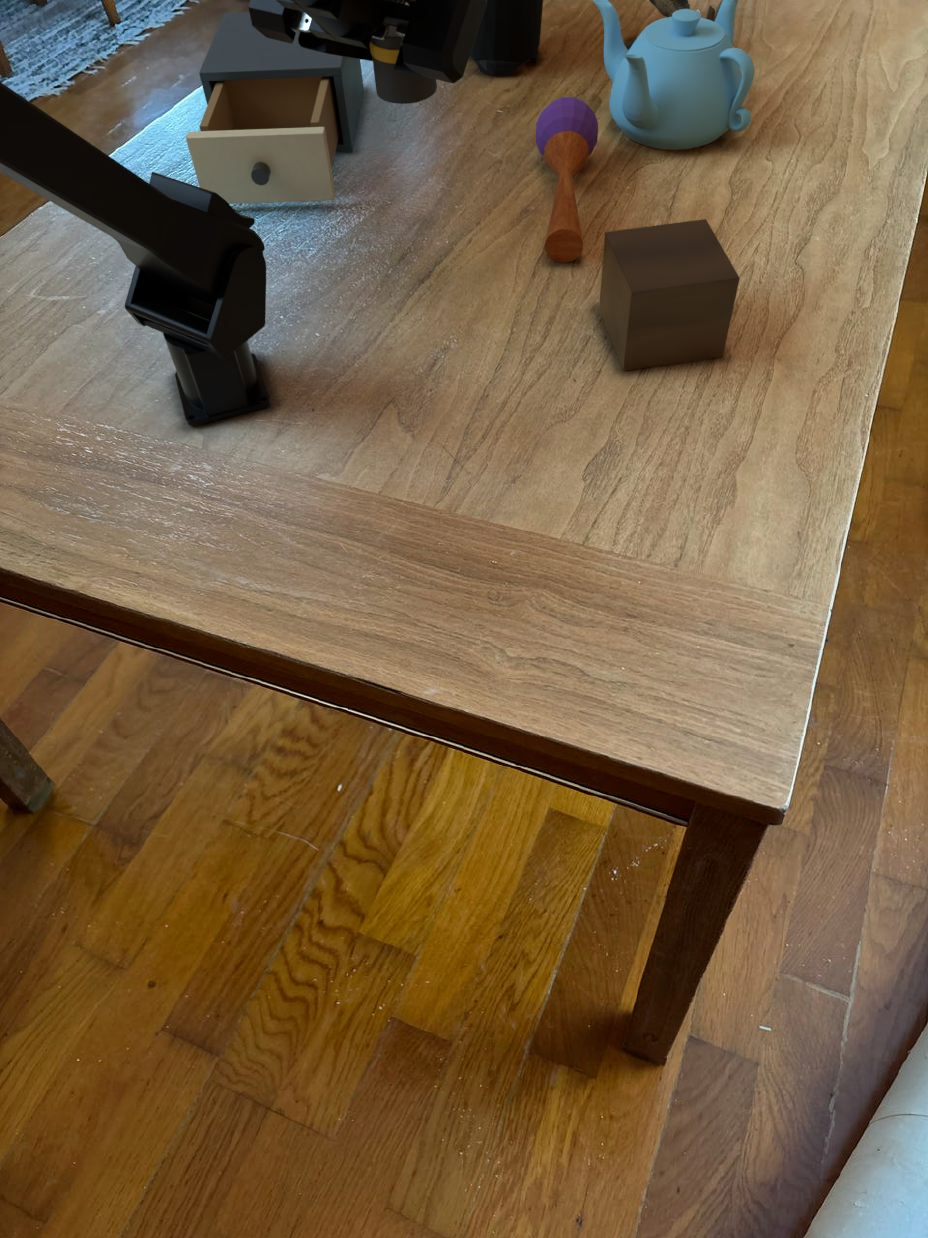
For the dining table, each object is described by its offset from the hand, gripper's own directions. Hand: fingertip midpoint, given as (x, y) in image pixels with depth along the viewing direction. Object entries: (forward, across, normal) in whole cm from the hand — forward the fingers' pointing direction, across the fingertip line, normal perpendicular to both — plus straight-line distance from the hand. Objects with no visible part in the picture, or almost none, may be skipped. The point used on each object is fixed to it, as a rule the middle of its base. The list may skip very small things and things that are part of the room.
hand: (414, 62), depth 77 cm
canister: (0, 0, +2) cm, 2 cm away
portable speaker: (+31, +10, -12) cm, 35 cm away
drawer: (+8, +16, +10) cm, 21 cm away
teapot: (+28, -12, -9) cm, 32 cm away
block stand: (+5, -26, +13) cm, 30 cm away
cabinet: (+15, +23, +3) cm, 28 cm away
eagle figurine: (+39, -5, -20) cm, 44 cm away
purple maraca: (+15, -10, +4) cm, 19 cm away
